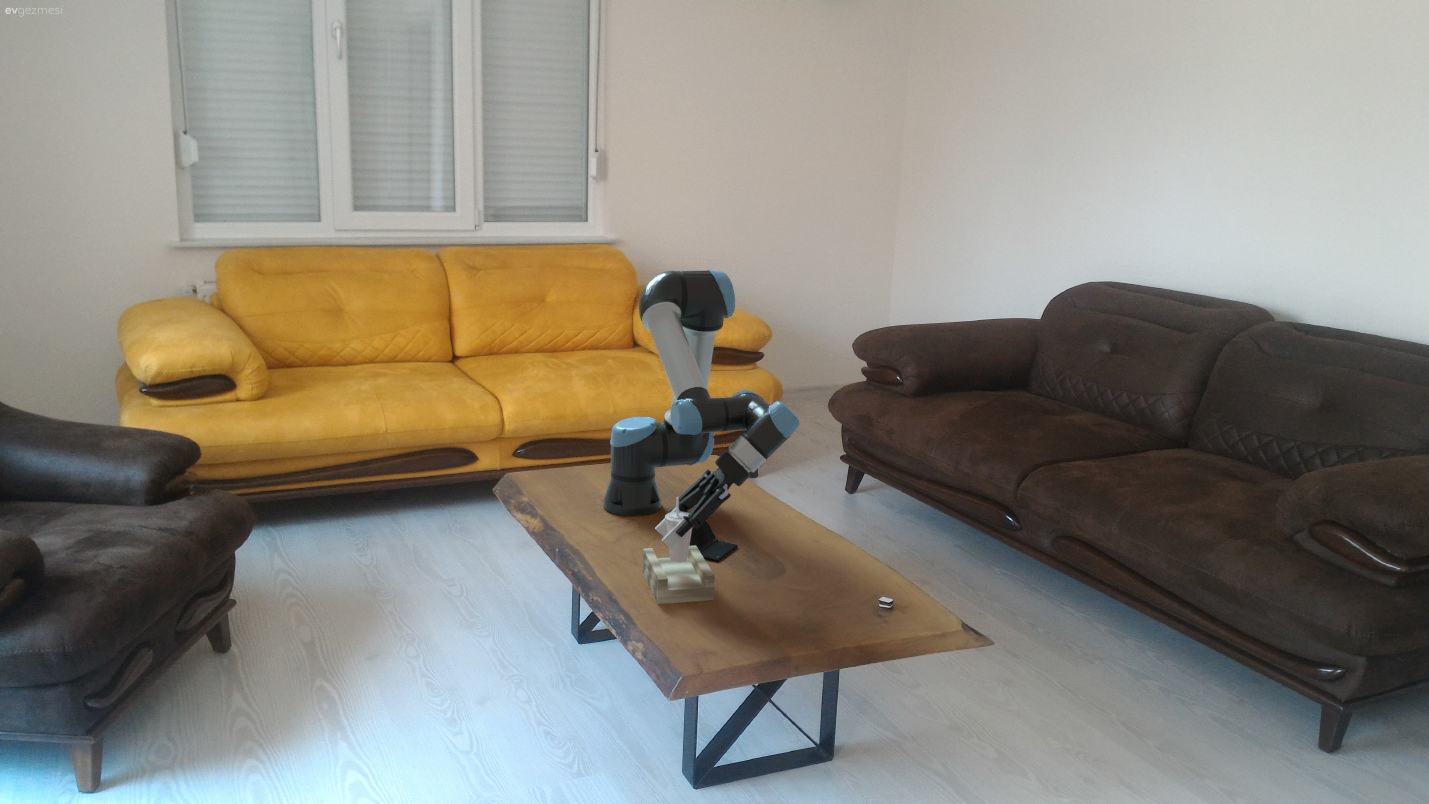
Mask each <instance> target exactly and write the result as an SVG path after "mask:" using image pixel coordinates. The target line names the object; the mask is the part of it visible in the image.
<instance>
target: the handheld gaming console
mask: <svg viewBox="0 0 1429 804" xmlns="http://www.w3.org/2000/svg"><path fill="white" fill-rule="evenodd" d="M689 546H697V548H698V550H699V551H700V553H701V554H702V556H703V558H704V559H705V561H709V562H712V563H719V562H721V561H722V560H723V559H724V558H726V557H727V556H728V555H730V554H731V553H733V552H734V551H735V550H736V549H738V544H736V543H731V542H727V541H723V540H719V538H717V536H716V535H715V533H714V531H713V529H712V528H711V526H710V524H709V523H708V520H706V521H705V522H704V524H703V525H702V526H701V527H700V528H696V527H694V528H693V527H692V532H691V538H690V545H689Z"/></svg>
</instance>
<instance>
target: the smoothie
mask: <svg viewBox="0 0 1429 804" xmlns="http://www.w3.org/2000/svg"><path fill="white" fill-rule="evenodd" d="M679 497H680V496H676V498H675V499H676V501H675V508H676V512H672V511H671V513H670V512H668V513H666V514H665V516H664V518H665V522H666V524H667V534H668V533H669V532H670V531H671V530H672V529H673V528H674V527H675V526H676V525H677V524H678V523H679V522H680V521H681V520H682V519H683V516H688V515H689V514H690V512H689V511H688V512H679ZM692 528H693V527H692ZM692 528H691V529H690V530H689V531H688V532H687V533H686V534H685V535H684V536H683V537H682V538H681V539H680V540H679V541H678V542H677V543H676V544H675V545H674V546H673V547H672V548H671V549H670V548H669V547H668V552H669V558H670V560H671V561H674V562H684V561H686V560H687V557H688V551H689V546H690V538H691V532H692Z"/></svg>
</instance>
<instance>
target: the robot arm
mask: <svg viewBox="0 0 1429 804" xmlns="http://www.w3.org/2000/svg"><path fill="white" fill-rule="evenodd" d="M735 294H736V293H735V290H734V286H733V283H732V281H731V278H730V277H729V275H728V274H727V273H725V271H724V272H723V271H720V270H710V269H707V270H666V271H662V272H660V273H658V274H656V275H654V276H653V277H652V278H651V279H649V281H648V282H647V283H646V284H645V285H644V287H643V289H642V291H641V294H640V297H639V301H638V314H639V318H640V321H641V324H642V326H643V328H644V330H645V329H646V331H648V332H649V333H650V336H651V338H652V340H653V343H654V346H655V349H656V352H657V355H658V357H659V359H660V362H661V365H662V367H663V371H664V373H665V375H666V379H667V381H668V383H669V386H670V389H671V392H672V400H671V408H670V409H668V410H666V412H665V413H664V417H663V422H657V421H656V419H655V418H653V417H648V416H643V417H642V416H634V417H629V418H625V419H622V420H619V421H618V422H617V423H615V424H614V425H613V426H612V428H611V436H610V441H609V444H610V479H609V482H608V485H607V486H606V487H607V488H606V491H605V493H604V496H603V509H605V511H607V512H608V513H611V514H614V515H618V516H625V517H639V516H647V515H651V514H655V513H657V512H659V511H660V510H661V508H662V498H661V493H660V491H659V490H660V489H659V488H658V485H657V481H656V468H664V467H679V466H694V465H697V464H698V465H699V464H703V463H704V462H706V461H708V459H709V458H710V457H711V455H712V453H713V450H714V446H715V438H714V436H715V433H718V432H719V433H724V432H739V431H744V432H743V433H742V434H741V435H740V436H739V437H738V438H736V440H735V441H734V442H732V443H731V445H730V446H729V447H728V451H724V452H723V453H722V454H721V455H720V456H719V457H718V458H717V459H716V460H715V461H714V463H715V465H716V467H718V468H716V469H715V470H714V471H711V470H710V469H707V470H705V472H704V473H702V475H701V476H700V477H699V478H698V479H697V480H696V481H695V482H694V483H693V484H692V485H691V486H690V487H689V488H687V489H686V490H685V492H683V493H682V494H681V495H680V496H678V497H679V512H688V513H690V514H689V515H688V516H683V519H682V520H681V521H680V522H679V523H678V524H677V525H676V526H675V527H674V528H673V529H672V530H671V531H670V532H669V533H668V534H667V524H666V522H665V517H664V518H663V520H661V521H660V522H659V524H657V525H656V526H655V527H654V529H655V530H656V531H657V532H658V533H659V534H660V535H661V536H662V537H663V538H662V539H661V542H662V543H664V544H665V545H666V546H667V547H668V549H669V548H670V549H671V548H672V547H673V546H674V545H675V544H676V543H677V542H678V541H679V540H680V539H681V538H682V537H683V536H684V535H685V534H686V533H687V532H688V531H689V530H690V529H691V528H694V527H696V528H700V527H701V526H702V525H703V524H704V522H705V521H708V519H709V518H710V517H711V516H712V515H713V514H714V513H715V512H716V511H717V510H718V509H719V507H721V506H722V505H723V504H724V503H725V502H726V501H727V500H729V499H730V498H731V496H732V495H731V493H730V492H729V489H730V488H731V487H732V485H733V484H735V486H737V487H740V486H742V485H743V484H744V483H745V482H746V481H747V480H748V479H749V478H750V475H751V474H750V472H751V473H755V472H756V471H757V469H758V468H760V467H762V466H764V463H765V462H766V460H767V459H769V458H770V457H771V456H772V455H773V454H774V453H775V452H776V451H778V449H779V448H780V447H781V446H782V445H783V444H784V443H785V442H786V441H788V439H790V438H791V437H792V435H793V434H794V432H795V431H796V430H797V429H799V427H800V424H801V421H800V419H799V418H798V417H797V416H796V415H795V414H794V412H793V411H792V410H791V409H789V407H788V406H786V404H785V403H783V402H782V401H779V400H776V401H774V402H773V403H772V404H769V403H768V402H767V401H765V399H764V398H763V397H762V396H760V395H759V394H757V393H755V392H754V391H752V390H748V389H741V390H739V391H738V392H735V393H734V394H733V395H732V396H730V397H729V396H727V397H726V396H725V397H711V395H710V392H709V391H708V388H709V387H708V386H709V381H710V373H711V367H712V360H713V353H714V348H715V347H714V346H715V342H716V341H715V339H716V333H718V332H719V331H720V330H722V329H723V327H724V320H725V319H729V318H732V316H733V315H734V313H735V309H736V295H735ZM691 509H692V510H691ZM689 511H690V512H689ZM671 512H676V507H675V508H673V509H672V510H671ZM671 512H669V513H671Z"/></svg>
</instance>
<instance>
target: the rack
mask: <svg viewBox="0 0 1429 804" xmlns="http://www.w3.org/2000/svg"><path fill="white" fill-rule="evenodd" d="M642 550H643V551H642V552H643V553H642V573H643V575H644V577H645V579H646V582H647V584H648V586H649V589H650V590H651V592H652V595H653V596H654V600H655V601H656V604H657V605H663V604H678V603H688V602H689V603H691V602H704V601H706V602H707V601H714V600H715V576H716V575H715V573H714V572H713V571H712V569H711V567H710V565H709V564H708V562H707V560H705V559H704V558H703V556H702V554H701V553H700V551H699V550H698V548H697V546H690V545H689V551H688V557H687V560H686V561H684V562H674V561H671V560H670V557H660V558H658V556H657V555H656V553H655V550H654V549H653V547H647V548H646V547H645V548H643V549H642Z"/></svg>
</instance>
